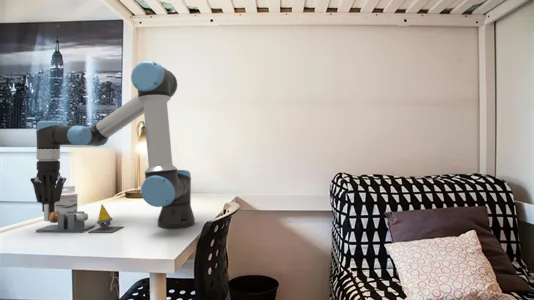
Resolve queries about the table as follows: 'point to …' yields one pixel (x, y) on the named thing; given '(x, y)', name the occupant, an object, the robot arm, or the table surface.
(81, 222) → the grey vise
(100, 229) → the seat pad
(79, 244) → the table surface
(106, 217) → the yellow cone
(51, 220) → the shaft
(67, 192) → the ink box
